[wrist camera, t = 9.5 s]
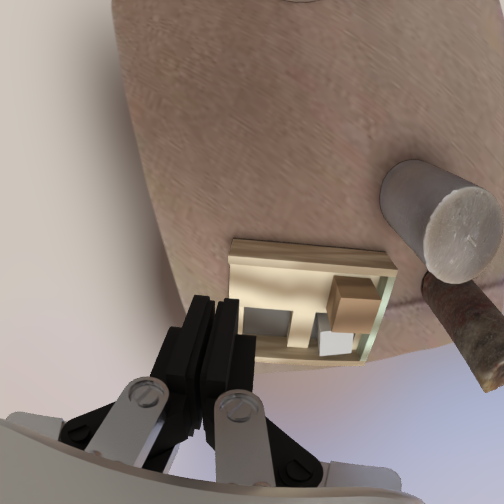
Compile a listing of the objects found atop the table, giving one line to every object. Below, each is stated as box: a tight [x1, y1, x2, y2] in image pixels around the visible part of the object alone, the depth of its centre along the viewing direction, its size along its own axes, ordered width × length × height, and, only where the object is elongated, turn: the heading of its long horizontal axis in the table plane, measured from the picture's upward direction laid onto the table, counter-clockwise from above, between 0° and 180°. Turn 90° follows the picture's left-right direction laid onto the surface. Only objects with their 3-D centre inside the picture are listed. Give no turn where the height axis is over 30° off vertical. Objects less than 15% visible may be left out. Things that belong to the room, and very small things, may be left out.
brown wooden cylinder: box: [422, 271, 504, 393], centre depth 31 cm, size 8×7×20 cm
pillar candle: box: [380, 160, 503, 284], centre depth 29 cm, size 10×10×15 cm
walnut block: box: [326, 275, 382, 334], centre depth 37 cm, size 5×5×5 cm
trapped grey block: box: [316, 312, 354, 356], centre depth 42 cm, size 4×4×4 cm
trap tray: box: [228, 238, 398, 366], centre depth 40 cm, size 16×20×5 cm
